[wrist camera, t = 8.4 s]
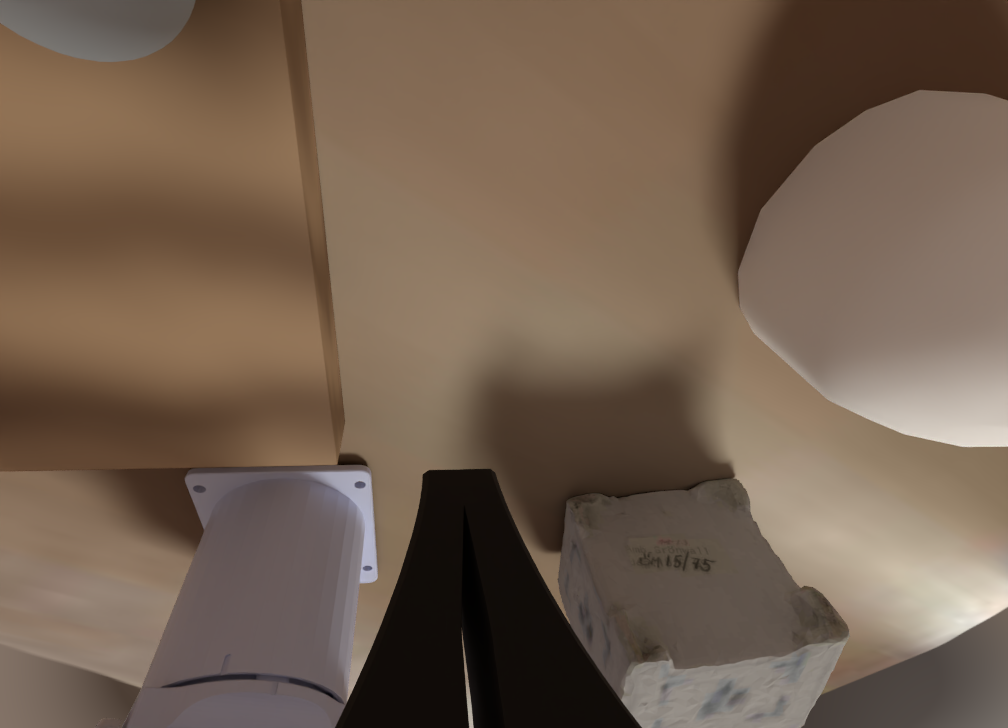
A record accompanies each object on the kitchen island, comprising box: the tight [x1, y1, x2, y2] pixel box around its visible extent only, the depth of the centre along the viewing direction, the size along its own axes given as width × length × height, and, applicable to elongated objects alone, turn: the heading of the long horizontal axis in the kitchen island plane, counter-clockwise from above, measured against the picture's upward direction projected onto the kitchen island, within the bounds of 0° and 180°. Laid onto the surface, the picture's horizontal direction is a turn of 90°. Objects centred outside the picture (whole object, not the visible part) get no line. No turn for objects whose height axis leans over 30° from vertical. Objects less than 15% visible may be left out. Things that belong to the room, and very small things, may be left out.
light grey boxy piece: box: [558, 479, 850, 728], centre depth 25 cm, size 10×8×10 cm
